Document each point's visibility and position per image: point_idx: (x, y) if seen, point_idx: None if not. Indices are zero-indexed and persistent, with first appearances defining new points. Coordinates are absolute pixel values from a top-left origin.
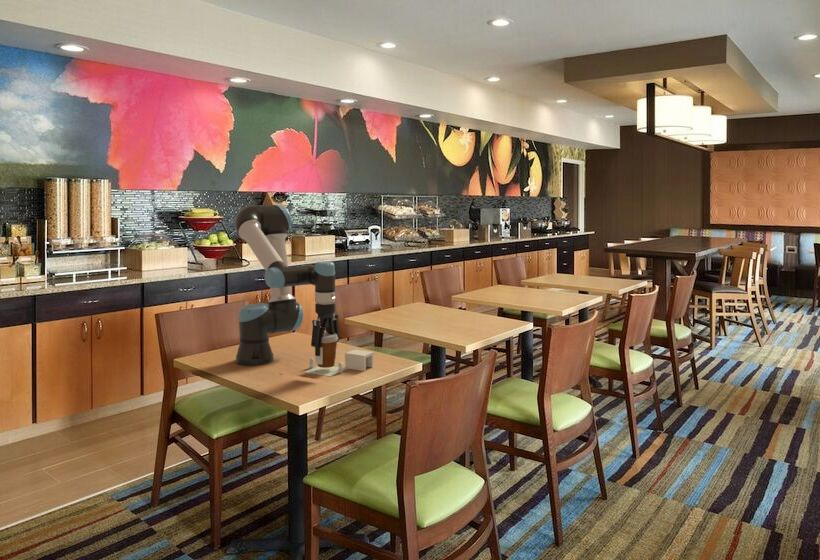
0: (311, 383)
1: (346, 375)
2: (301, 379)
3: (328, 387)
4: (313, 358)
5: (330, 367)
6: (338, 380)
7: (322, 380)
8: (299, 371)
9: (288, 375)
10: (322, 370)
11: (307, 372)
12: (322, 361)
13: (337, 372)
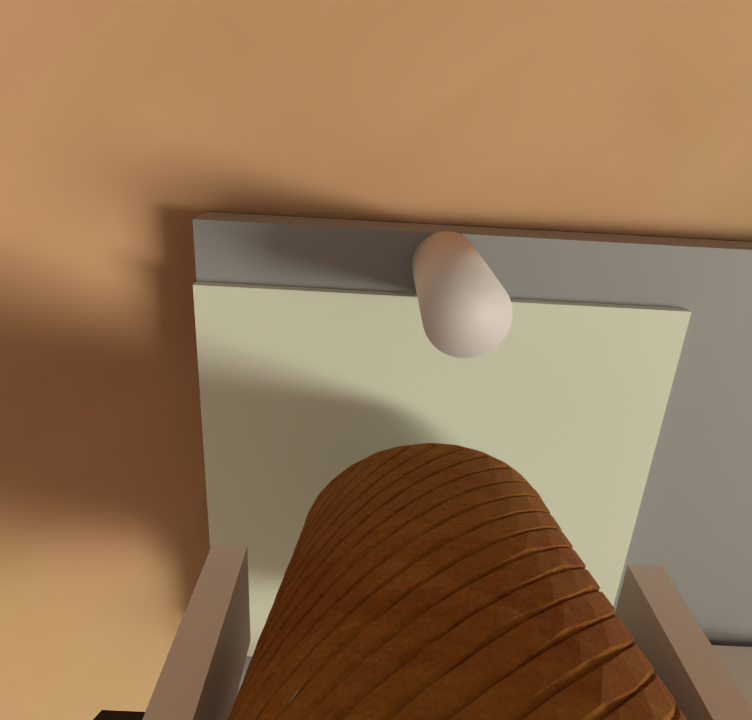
0: (13, 518)
1: None
2: (56, 335)
3: (25, 700)
4: (488, 348)
5: (565, 494)
6: None
7: (175, 559)
8: (369, 62)
9: (89, 30)
10: None
11: (197, 349)
12: (236, 677)
13: None
